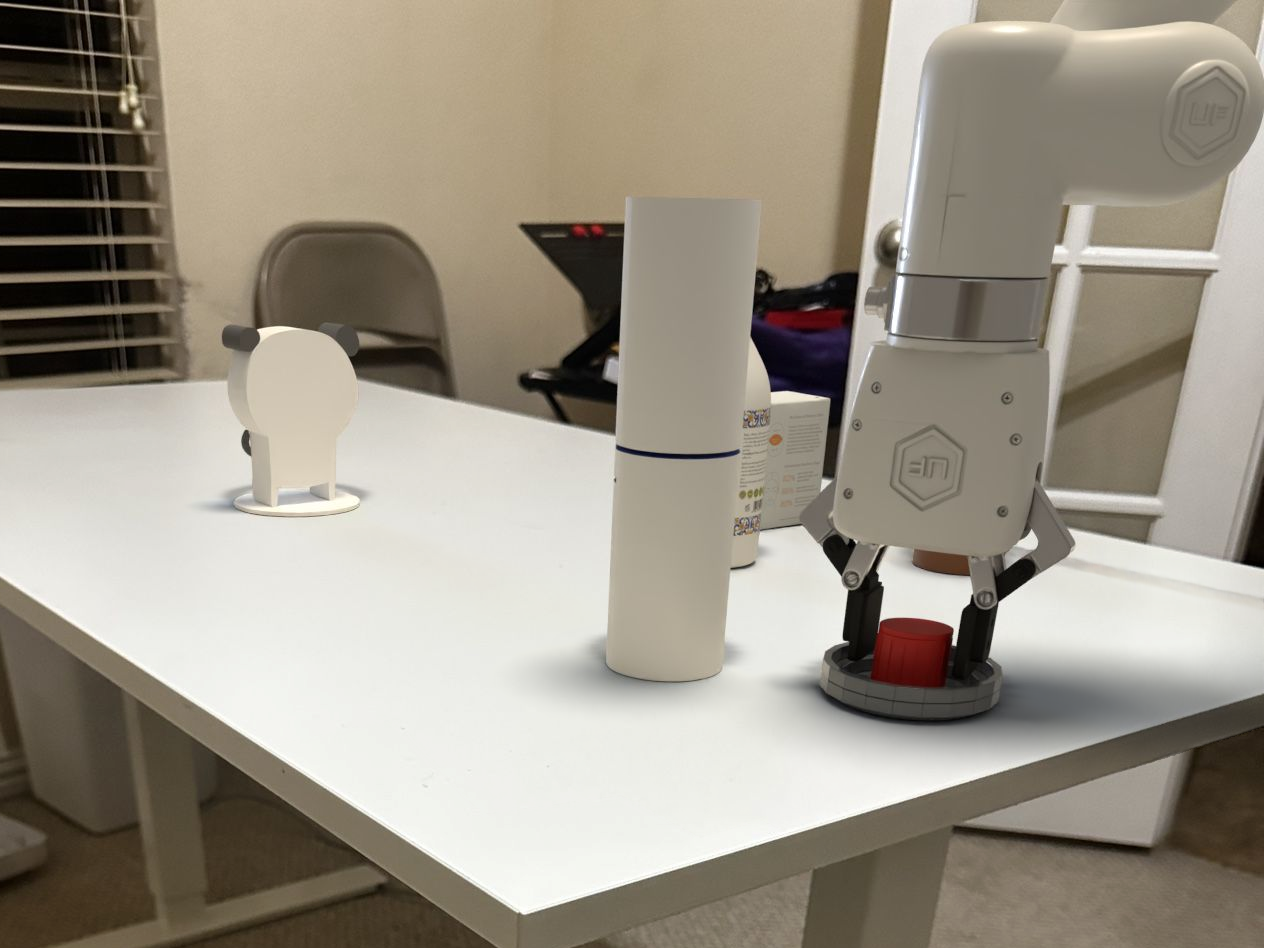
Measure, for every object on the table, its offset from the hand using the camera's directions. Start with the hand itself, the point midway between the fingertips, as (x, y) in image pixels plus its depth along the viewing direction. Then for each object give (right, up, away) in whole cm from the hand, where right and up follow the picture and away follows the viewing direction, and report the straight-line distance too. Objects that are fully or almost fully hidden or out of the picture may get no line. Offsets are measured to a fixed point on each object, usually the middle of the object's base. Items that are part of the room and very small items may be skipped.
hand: (912, 661), depth 78 cm
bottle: (+12, +14, +31) cm, 36 cm away
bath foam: (-8, +15, +31) cm, 35 cm away
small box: (-1, +22, +45) cm, 50 cm away
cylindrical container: (-14, +1, +6) cm, 15 cm away
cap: (0, -2, 0) cm, 2 cm away
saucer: (0, -2, +1) cm, 2 cm away
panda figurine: (-44, +25, +48) cm, 69 cm away
